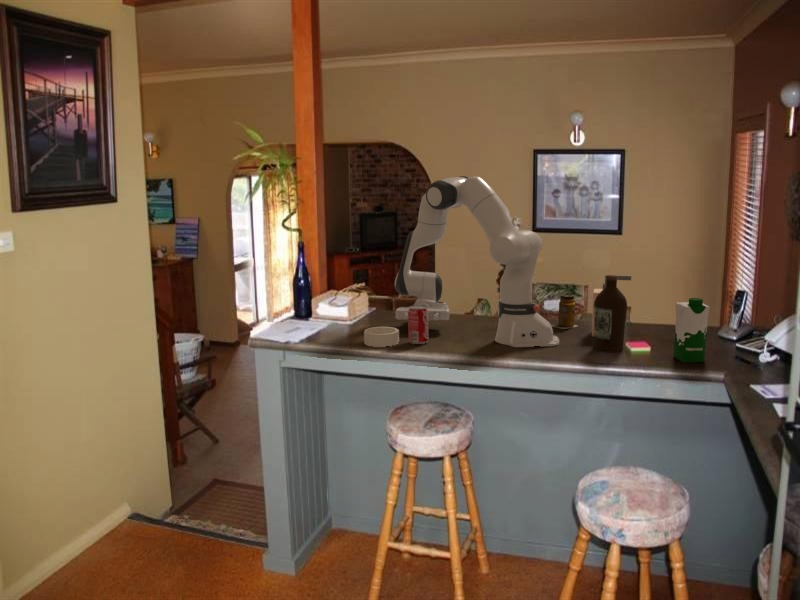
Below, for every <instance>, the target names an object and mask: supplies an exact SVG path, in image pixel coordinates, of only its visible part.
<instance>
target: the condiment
mask: <svg viewBox="0 0 800 600" xmlns="http://www.w3.org/2000/svg"><path fill="white" fill-rule="evenodd" d="M559 298H560V300H559V302H558V323H555V324H551V326H552V328H553V327H554V328H557V329H562V330H565V329H571V328H576V327H578V325H577V324H575V315H576V314H575V313H576V312H575V309H576V302H575V295H573V294H560V296H559Z"/></svg>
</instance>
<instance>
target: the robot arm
mask: <svg viewBox="0 0 800 600" xmlns="http://www.w3.org/2000/svg"><path fill="white" fill-rule="evenodd" d="M425 191H426V192H425V193H424V194H423V195H422V197H421V201H420V205H419V208H418V209H419V210H418V217H417V224H416V227H415V229H414V230H412V231H409V233H408V235H407V238H406V242H405V245H404V250H403V253H402V257H401V261H400V265H399V268H398V272H397V273H396V277H395V279H394V289H395V290H396V292H397V293H398V294H399V295H400V296H416V297H418V298H417V299H416V301H415V302H414V304H413V306H415V305H422V306H426V307H427V310H428V322H433V321H448V320H450V308H449V306H448V305H447V302H444V301H440V300H441V297H442V293H443V281H442V278H441V276H440V275H439V273H436V272H431V271H430V272H429V271H416V270H411V265H412V262H413V257H414V253H415V252H416V251H417V250H419V249H421V248H423V247H427V246H431V245H434V244H436V243H438V242H439V241H441V240H442V239H443V238H444V237H445V235H446V231H447V227H448V226H447V225H448V215H449V214H448V213H449V210H450V209H456V208H460V207H463V206H466V207H467V209H468V210H469V212H470V213H471V214H472V216H473V217H474V218H475V220H476V221H477V223H478V224H479V226H480V227H481V229H482V230H483V231H484V234H485V236H486V238H487V240H488V242H489V254H490V256H491V258H492V260H493V261H494V262H495V263H497V264H499V265H504V266H505V268H504V271H503V273H502V276H501V277H500V280H499V282H500V283H499V301H498V305H497V315H498V324H497V330H496V334H495V337H494V341H495V342H496V343H498V344H500V345H506V346H510V347H513V348H534V346H540V347H557V346H559V345H560V338H559V337H558V336H557V335H554V330H553V326H551V325H552V324H551V323H550V322H549V321H548V320H547V319H546V318H544V316H542V315H540V313H538V312H539V311H540V306H539V305H538V303H536V302H533V300H532V299H533V278H534V274H535V271H536V270H535V269H536V266H537V261H538V258H539V255H540V253H541V251H542V249H543V240H542V237H541V236H540V235H539V233H537V232H534V231H532V230H528V229H520V230H517V229H516V227H515V226H514V224H513V221H512V219H511V212H510V210H509V208H508V207H507V206H506V204H505V203H504V201H502V199H501V198H500V197H499V195H498V193H497V192H496V191H495V190H494V189H493V187H491V186H490V184H488V182H486V181H485V180H484V179H483V178H481V177H480V176H478V175H477V176H475V175H474V176H470V177H469V176H465V175H461V176H455V177H446V178H442V179H440V180H436V181H433V182H431V183H430V184H429V185H428V186H427V188H426V190H425ZM409 307H410V306H400V307H398V308H396V309H395V319H396V320H400V321H401V320H406V321H408V311H409ZM556 345H557V346H556Z"/></svg>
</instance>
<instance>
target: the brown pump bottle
mask: <svg viewBox="0 0 800 600" xmlns="http://www.w3.org/2000/svg"><path fill="white" fill-rule="evenodd" d="M606 275H607V280H606V287H605V288H604V289H603V288H602V289H603V290H602V291H601V292H600V293H599V294H598V295H597V297H596V299H595V302H594V336H593V337H594V338H593V340H594V341H593V344H594V346H593V347H594V349H595V350H598V351H600V352H609V353H612V352H613V353H615V352H621V351H622V350H624V344H625V343H624V341H625V331H626V321H627V319H626V318H627V310H628V302H627V301H628V300H627V298H626V296H625V295H624V294H623V292H621V290H620V289H619V288H618V287H617V285H618V283H617V282H618V280H616V278H617V276H616V275H617V274H616V275H615V274H606Z"/></svg>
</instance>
